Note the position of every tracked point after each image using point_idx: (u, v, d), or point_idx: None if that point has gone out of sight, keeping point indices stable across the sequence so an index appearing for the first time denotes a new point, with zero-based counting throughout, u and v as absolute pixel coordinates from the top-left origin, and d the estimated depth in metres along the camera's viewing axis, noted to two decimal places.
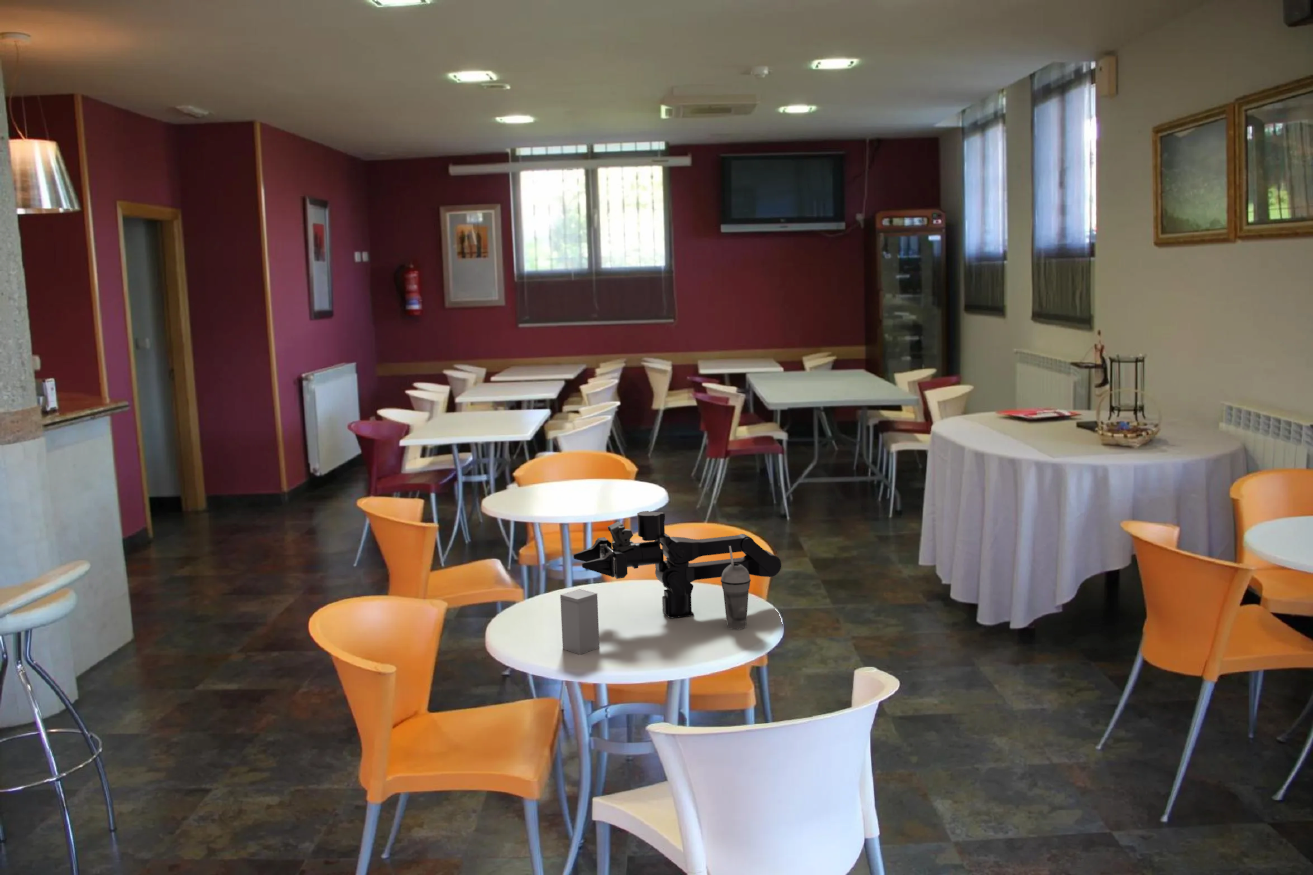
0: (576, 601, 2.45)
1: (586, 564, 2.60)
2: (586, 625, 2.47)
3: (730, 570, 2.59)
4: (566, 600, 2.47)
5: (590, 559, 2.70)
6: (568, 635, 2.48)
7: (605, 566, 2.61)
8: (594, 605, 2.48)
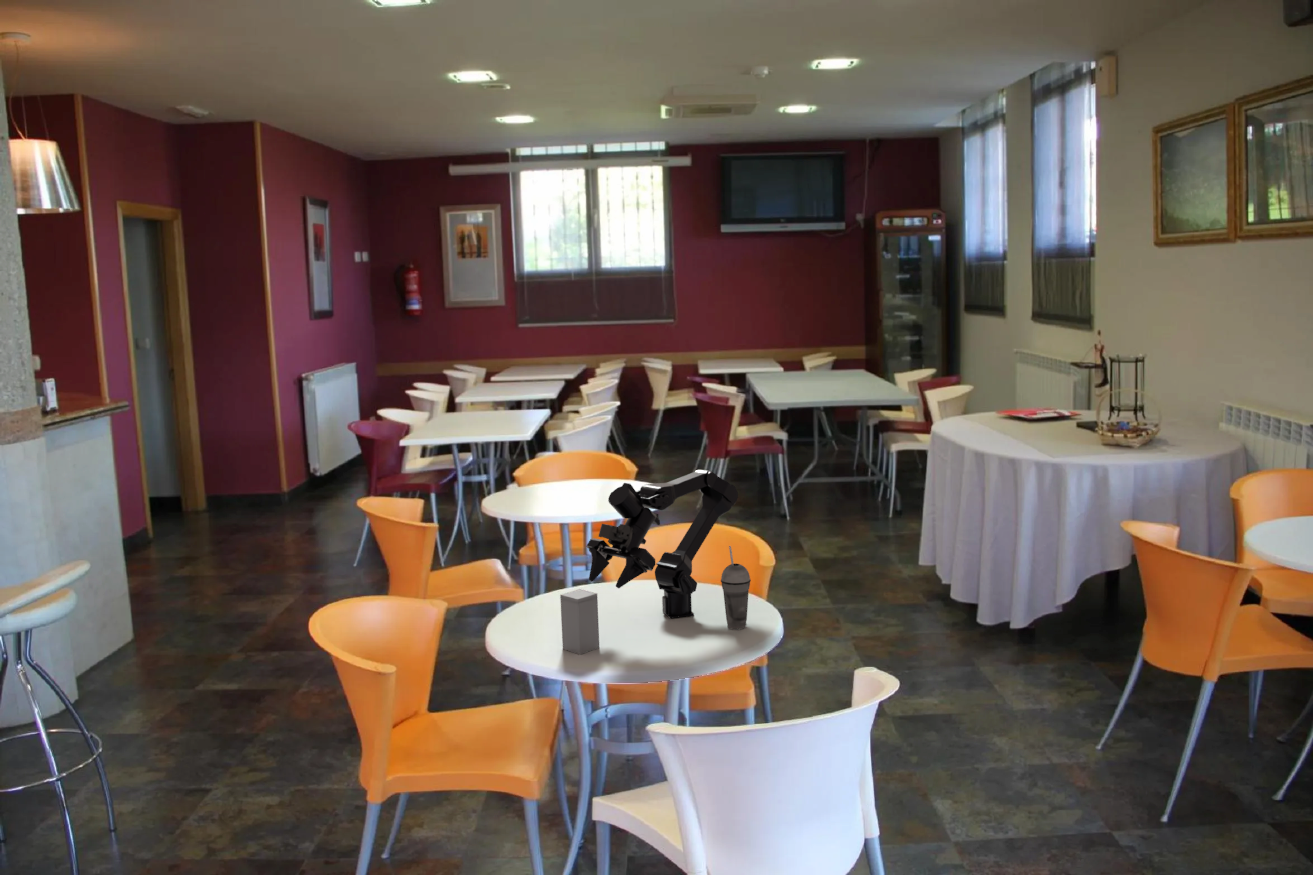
0: (576, 601, 2.45)
1: (620, 583, 2.51)
2: (586, 625, 2.47)
3: (730, 570, 2.59)
4: (566, 600, 2.47)
5: (601, 568, 2.60)
6: (568, 635, 2.48)
7: (633, 569, 2.53)
8: (594, 605, 2.48)
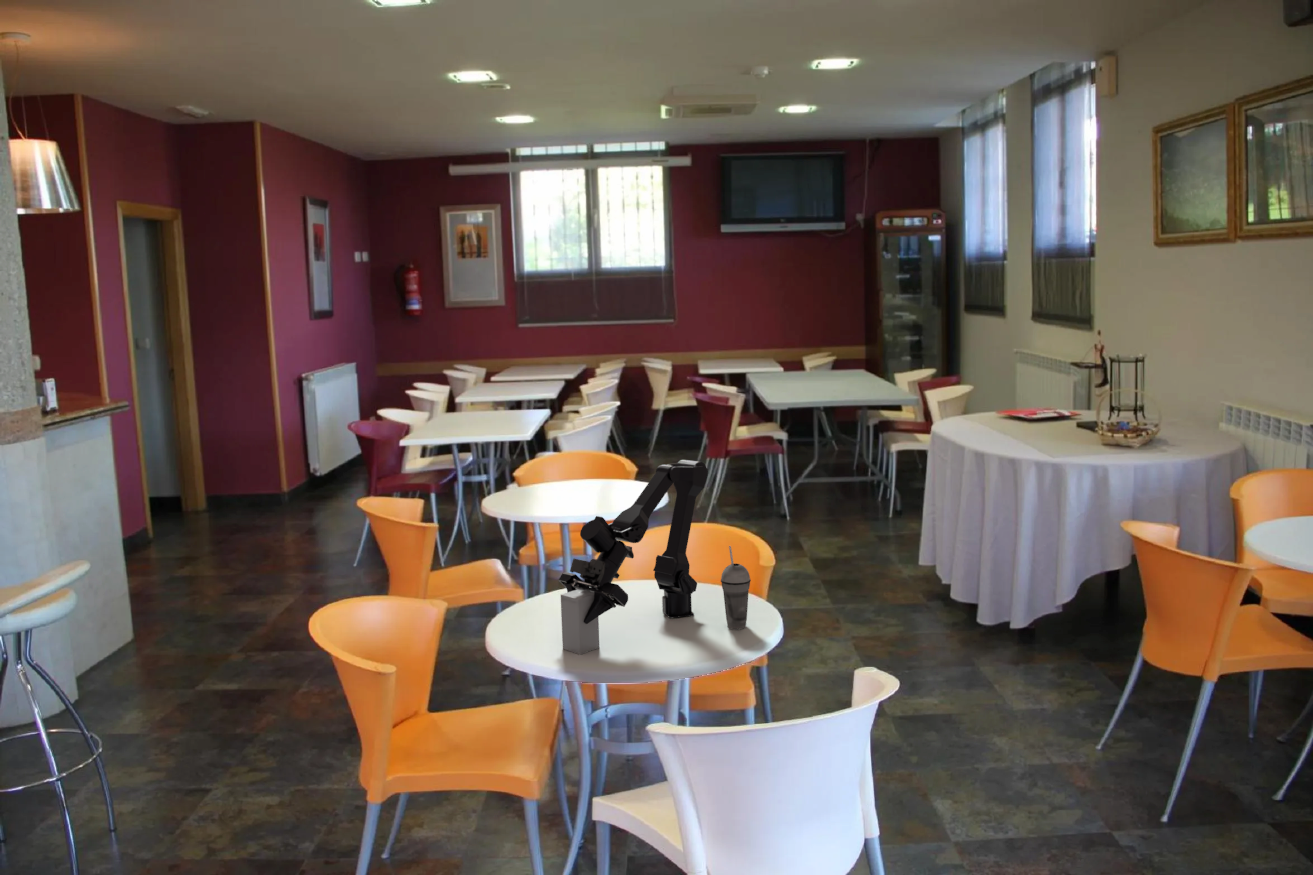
0: (576, 601, 2.45)
1: (588, 619, 2.46)
2: (587, 625, 2.47)
3: (730, 570, 2.59)
4: (566, 600, 2.47)
5: None
6: (568, 635, 2.48)
7: (601, 604, 2.48)
8: None
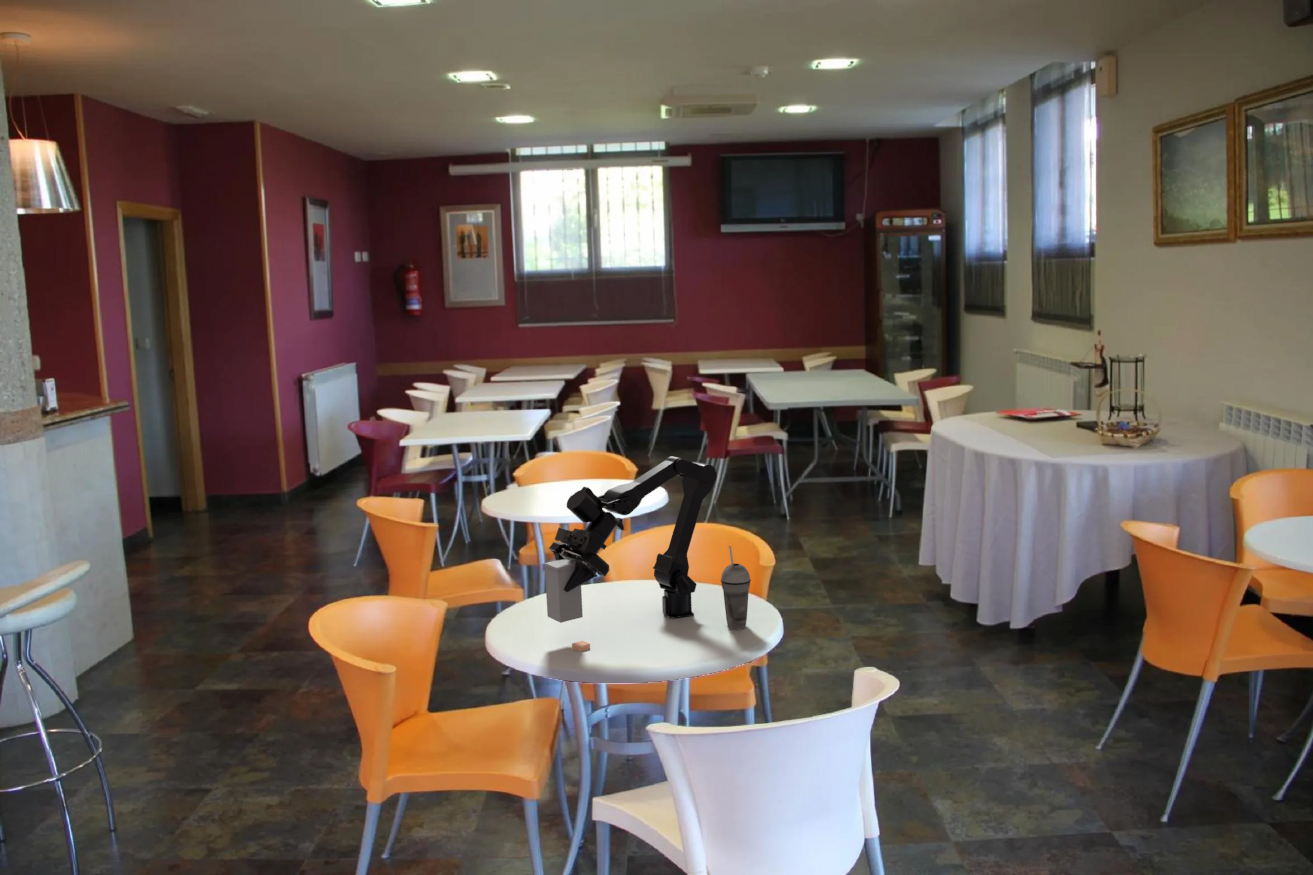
0: (556, 570, 2.48)
1: (568, 587, 2.49)
2: (568, 594, 2.50)
3: (730, 570, 2.59)
4: (549, 569, 2.51)
5: None
6: (551, 603, 2.52)
7: (583, 573, 2.51)
8: None
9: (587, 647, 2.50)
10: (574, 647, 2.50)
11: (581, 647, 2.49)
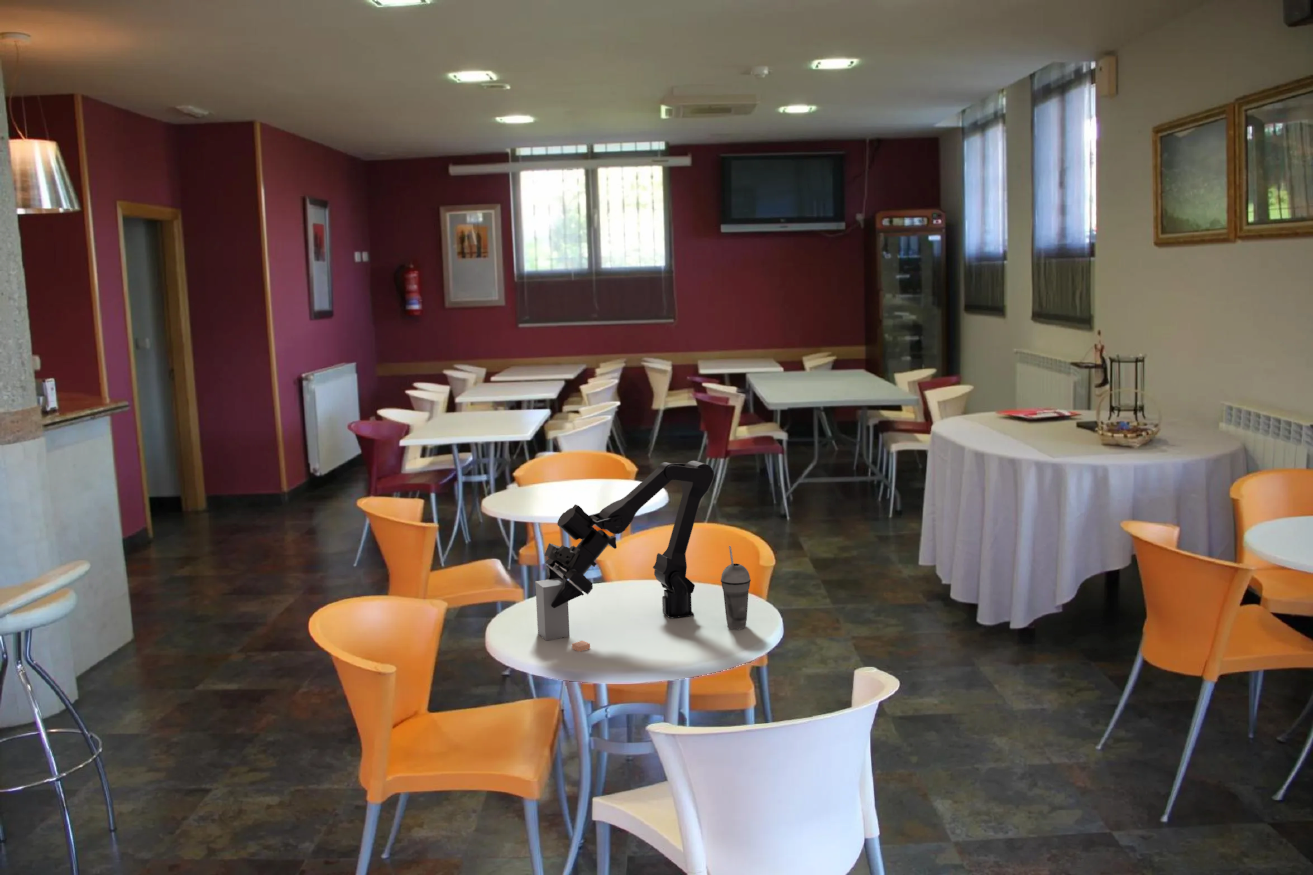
0: (542, 588, 2.56)
1: (554, 603, 2.55)
2: (554, 613, 2.57)
3: (730, 570, 2.59)
4: (538, 587, 2.59)
5: None
6: (540, 621, 2.60)
7: (570, 590, 2.55)
8: None
9: (587, 647, 2.50)
10: (574, 647, 2.50)
11: (581, 646, 2.49)
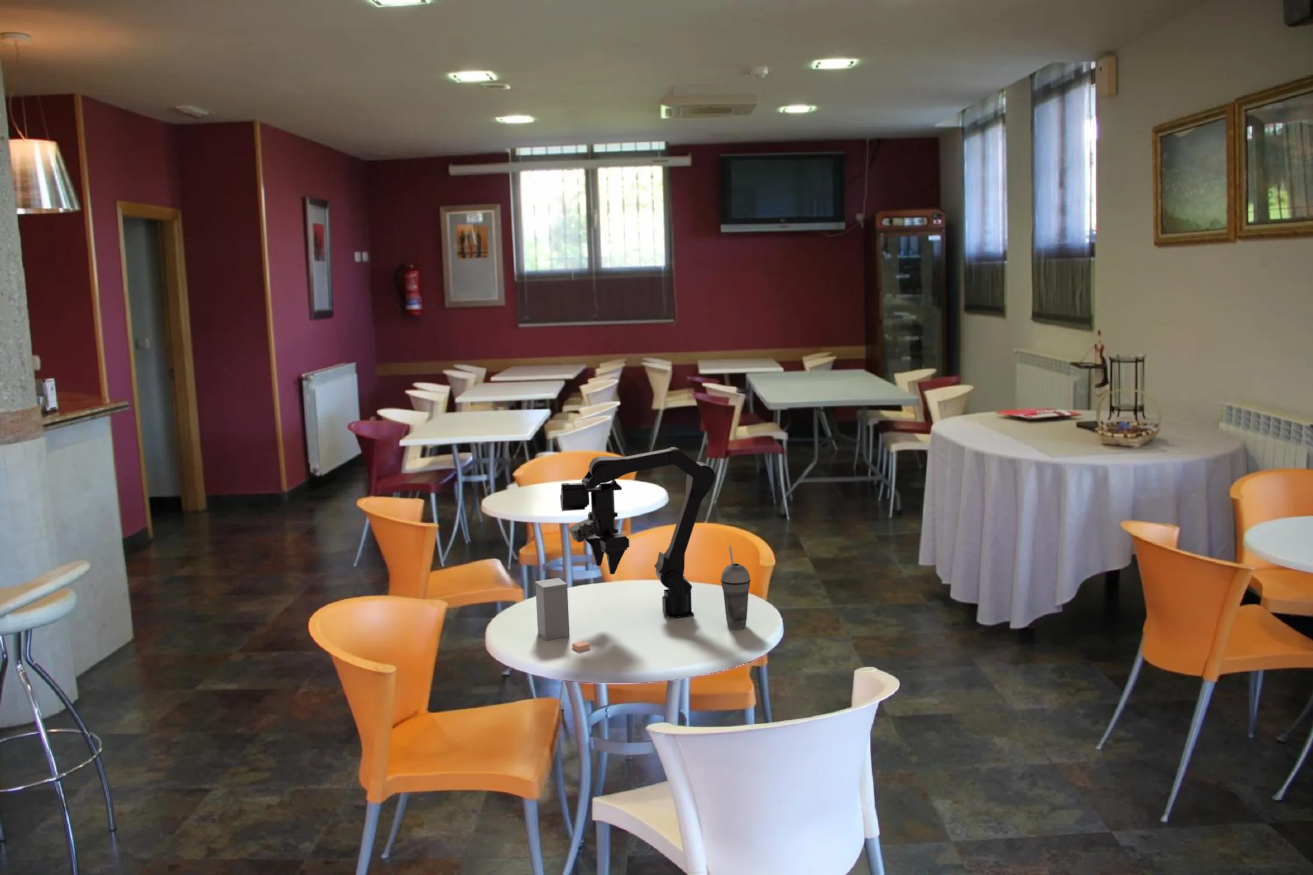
0: (542, 588, 2.56)
1: (612, 570, 2.64)
2: (554, 613, 2.57)
3: (730, 570, 2.59)
4: (538, 587, 2.59)
5: (602, 548, 2.73)
6: (540, 621, 2.60)
7: (615, 552, 2.63)
8: (563, 595, 2.57)
9: (587, 647, 2.50)
10: (574, 647, 2.50)
11: (581, 646, 2.49)
